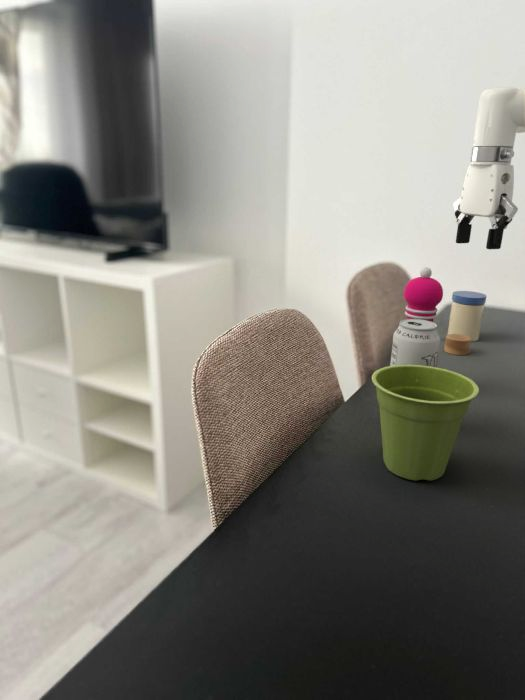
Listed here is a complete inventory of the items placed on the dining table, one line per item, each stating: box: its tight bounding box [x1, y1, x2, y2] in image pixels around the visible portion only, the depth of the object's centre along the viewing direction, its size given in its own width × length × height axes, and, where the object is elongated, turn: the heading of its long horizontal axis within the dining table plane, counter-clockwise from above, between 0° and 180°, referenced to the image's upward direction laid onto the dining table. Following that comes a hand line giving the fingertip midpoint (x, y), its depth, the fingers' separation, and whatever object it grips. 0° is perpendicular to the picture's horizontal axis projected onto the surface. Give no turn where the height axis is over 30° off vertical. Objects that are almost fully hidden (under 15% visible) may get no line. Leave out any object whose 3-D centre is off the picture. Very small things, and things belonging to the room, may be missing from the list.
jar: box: [446, 299, 486, 342], centre depth 112 cm, size 7×7×9 cm
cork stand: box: [443, 334, 472, 356], centre depth 104 cm, size 5×5×3 cm
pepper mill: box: [403, 266, 444, 368], centre depth 84 cm, size 7×7×20 cm
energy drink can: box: [389, 318, 441, 368], centre depth 71 cm, size 6×6×15 cm
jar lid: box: [451, 290, 487, 305], centre depth 111 cm, size 7×7×2 cm
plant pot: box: [371, 365, 480, 482], centre depth 61 cm, size 12×12×11 cm
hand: (477, 245), depth 107 cm, fingers open, 8 cm apart
